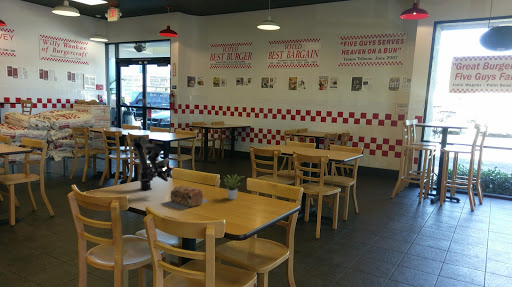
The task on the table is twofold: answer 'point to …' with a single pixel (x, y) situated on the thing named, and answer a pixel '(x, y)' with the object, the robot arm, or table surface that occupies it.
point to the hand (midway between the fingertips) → (167, 181)
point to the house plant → (232, 187)
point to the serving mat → (179, 206)
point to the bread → (187, 196)
